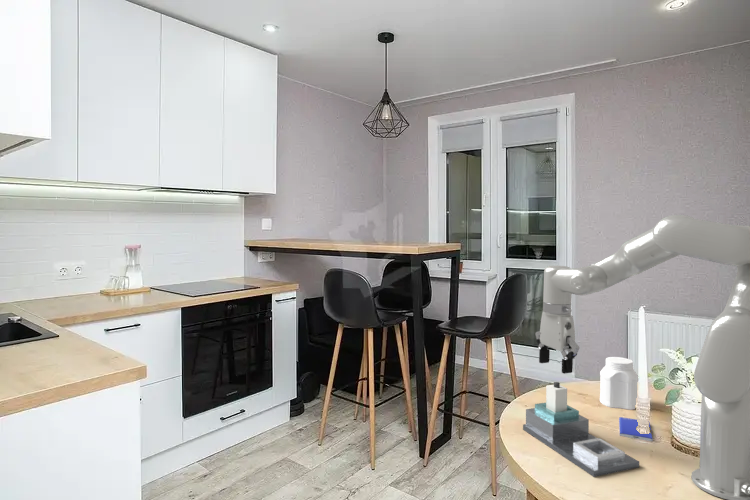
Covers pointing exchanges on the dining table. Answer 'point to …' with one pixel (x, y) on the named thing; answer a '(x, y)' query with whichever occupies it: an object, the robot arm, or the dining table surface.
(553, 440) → the grey desk organizer
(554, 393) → the plug
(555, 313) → the robot arm
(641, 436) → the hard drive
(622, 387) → the jar
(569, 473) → the dining table surface
